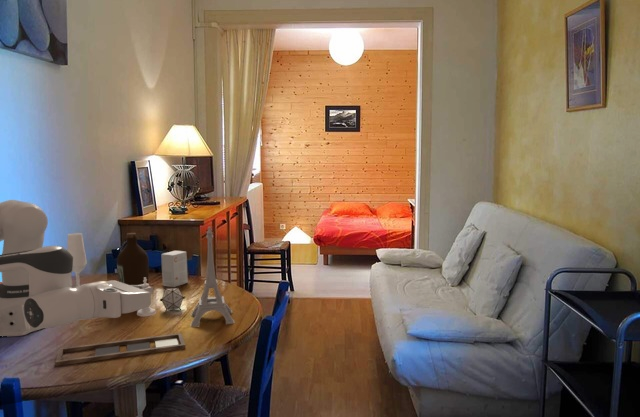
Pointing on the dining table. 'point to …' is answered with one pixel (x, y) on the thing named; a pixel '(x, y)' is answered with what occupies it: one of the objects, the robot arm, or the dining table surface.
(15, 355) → the dining table surface
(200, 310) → the eiffel tower
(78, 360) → the tray
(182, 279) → the small box
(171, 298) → the game die
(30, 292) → the robot arm
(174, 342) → the pad
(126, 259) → the olive oil
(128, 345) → the tiles
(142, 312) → the chess piece
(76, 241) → the champagne flute
